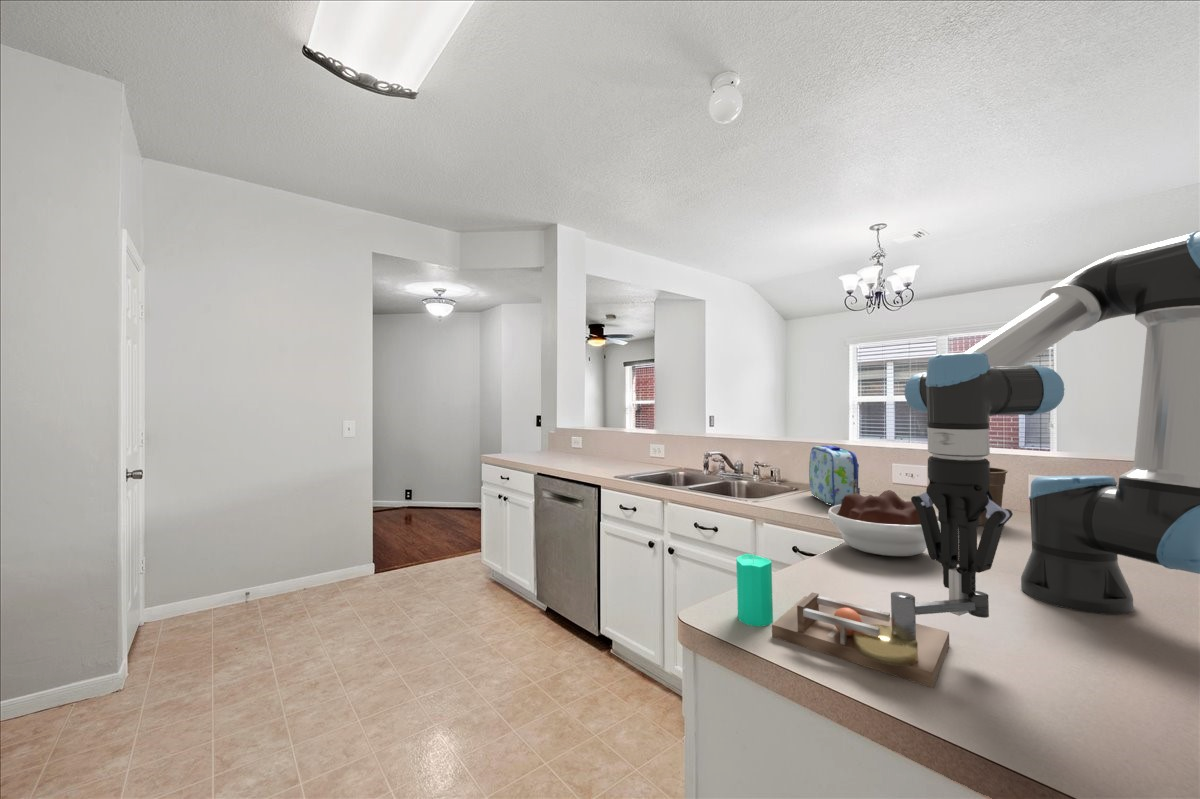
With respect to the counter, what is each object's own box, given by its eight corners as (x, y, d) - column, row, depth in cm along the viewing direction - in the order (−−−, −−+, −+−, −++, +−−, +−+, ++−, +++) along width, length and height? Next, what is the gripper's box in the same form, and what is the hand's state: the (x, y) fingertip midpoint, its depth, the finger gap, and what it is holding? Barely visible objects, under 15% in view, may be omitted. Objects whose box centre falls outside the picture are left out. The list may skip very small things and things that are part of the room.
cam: (1027, 677, 63) (1025, 618, 63) (862, 662, 67) (861, 606, 67) (984, 639, 73) (982, 587, 73) (843, 628, 77) (842, 579, 77)
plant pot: (942, 513, 159) (941, 463, 159) (1006, 519, 150) (1005, 466, 150) (941, 523, 146) (940, 470, 146) (1011, 531, 137) (1010, 473, 137)
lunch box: (864, 509, 167) (862, 448, 167) (831, 509, 168) (830, 449, 168) (835, 495, 193) (833, 442, 193) (807, 495, 194) (805, 442, 194)
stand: (949, 644, 76) (948, 606, 76) (932, 687, 65) (931, 642, 65) (805, 606, 91) (804, 574, 91) (772, 636, 80) (771, 600, 80)
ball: (865, 633, 76) (864, 607, 76) (858, 643, 73) (857, 616, 73) (838, 626, 78) (837, 601, 78) (830, 635, 75) (829, 609, 75)
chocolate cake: (942, 575, 105) (940, 505, 105) (818, 555, 120) (816, 494, 120) (946, 546, 125) (944, 487, 125) (839, 532, 140) (838, 479, 140)
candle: (732, 612, 89) (731, 547, 89) (764, 610, 90) (762, 545, 90) (745, 627, 83) (743, 557, 83) (779, 625, 84) (777, 555, 84)
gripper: (899, 453, 77) (901, 601, 78) (993, 463, 66) (995, 637, 66) (928, 450, 80) (930, 591, 81) (1023, 459, 69) (1024, 624, 69)
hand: (959, 612), depth 73 cm, fingers closed
